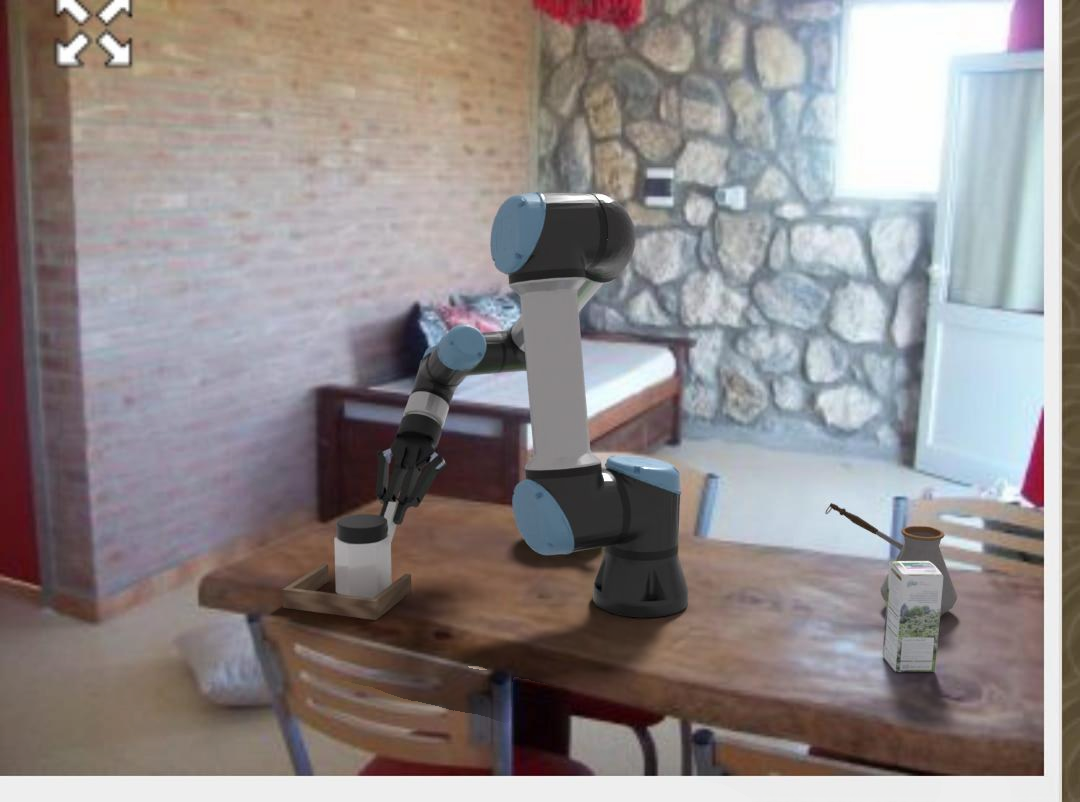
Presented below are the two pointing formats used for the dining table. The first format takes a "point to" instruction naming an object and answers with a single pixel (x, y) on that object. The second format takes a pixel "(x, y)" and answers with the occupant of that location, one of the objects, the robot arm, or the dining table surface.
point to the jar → (362, 555)
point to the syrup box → (912, 616)
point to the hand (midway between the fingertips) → (384, 539)
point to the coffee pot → (913, 552)
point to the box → (341, 597)
